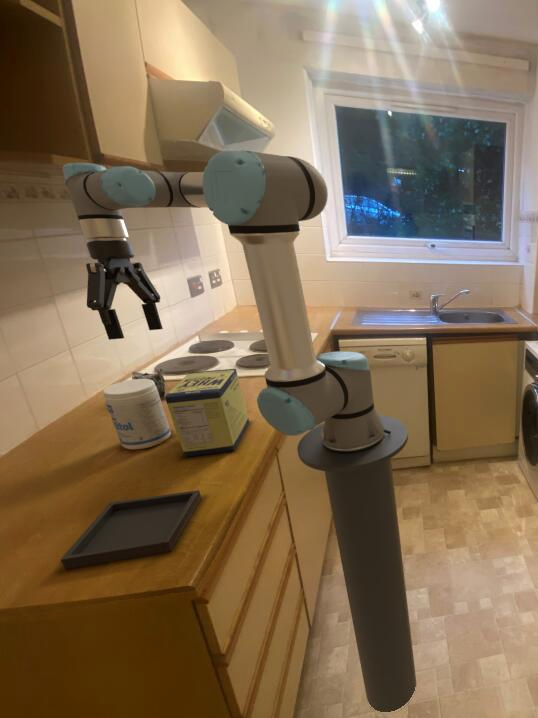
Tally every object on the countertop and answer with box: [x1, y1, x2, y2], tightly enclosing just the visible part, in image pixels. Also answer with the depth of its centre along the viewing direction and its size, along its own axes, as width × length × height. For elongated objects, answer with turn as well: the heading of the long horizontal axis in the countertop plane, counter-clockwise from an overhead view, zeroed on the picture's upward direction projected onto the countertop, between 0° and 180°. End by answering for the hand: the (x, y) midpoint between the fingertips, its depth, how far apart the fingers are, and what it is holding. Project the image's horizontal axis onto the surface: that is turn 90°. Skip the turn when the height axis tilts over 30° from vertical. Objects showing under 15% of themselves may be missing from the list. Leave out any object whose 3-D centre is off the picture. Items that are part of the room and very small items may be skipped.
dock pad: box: [60, 489, 203, 570], centre depth 77 cm, size 15×15×2 cm
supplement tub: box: [102, 379, 172, 450], centre depth 103 cm, size 10×10×15 cm
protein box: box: [164, 368, 250, 458], centre depth 104 cm, size 10×16×16 cm
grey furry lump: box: [131, 368, 166, 401], centre depth 130 cm, size 12×11×15 cm
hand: (137, 334), depth 103 cm, fingers open, 13 cm apart
